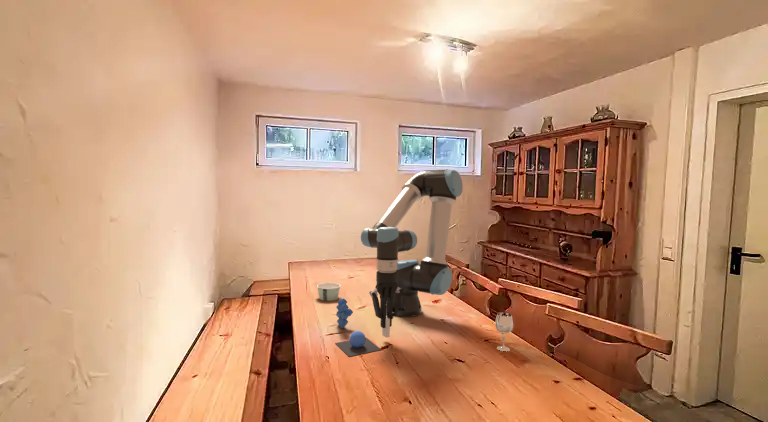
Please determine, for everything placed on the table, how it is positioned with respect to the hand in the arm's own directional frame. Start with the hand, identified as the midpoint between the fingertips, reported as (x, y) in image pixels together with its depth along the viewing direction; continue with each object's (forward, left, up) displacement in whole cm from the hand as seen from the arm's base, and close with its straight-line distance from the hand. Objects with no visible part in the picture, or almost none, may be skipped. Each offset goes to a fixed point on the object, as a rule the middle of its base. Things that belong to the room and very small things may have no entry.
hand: (385, 335), depth 134 cm
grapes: (+8, -19, -2) cm, 21 cm away
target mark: (+11, 0, -2) cm, 11 cm away
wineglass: (-33, +24, -2) cm, 41 cm away
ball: (+11, 0, +1) cm, 11 cm away
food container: (-1, -61, -2) cm, 61 cm away
